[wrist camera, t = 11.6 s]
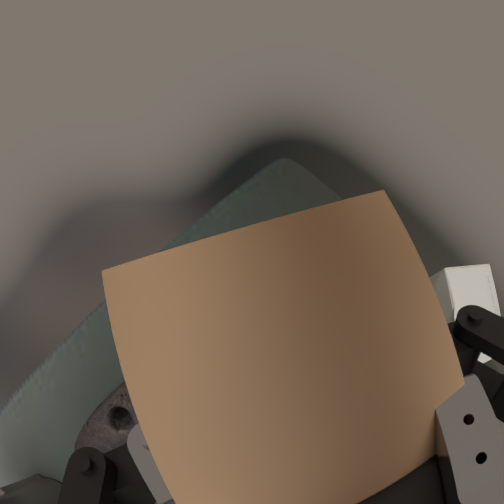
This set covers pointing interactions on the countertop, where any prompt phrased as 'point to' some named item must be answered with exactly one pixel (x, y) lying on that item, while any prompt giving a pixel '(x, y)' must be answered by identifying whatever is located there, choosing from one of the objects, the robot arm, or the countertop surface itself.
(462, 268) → the skincare box
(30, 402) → the countertop surface
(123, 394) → the perforated stone tool
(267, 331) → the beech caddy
